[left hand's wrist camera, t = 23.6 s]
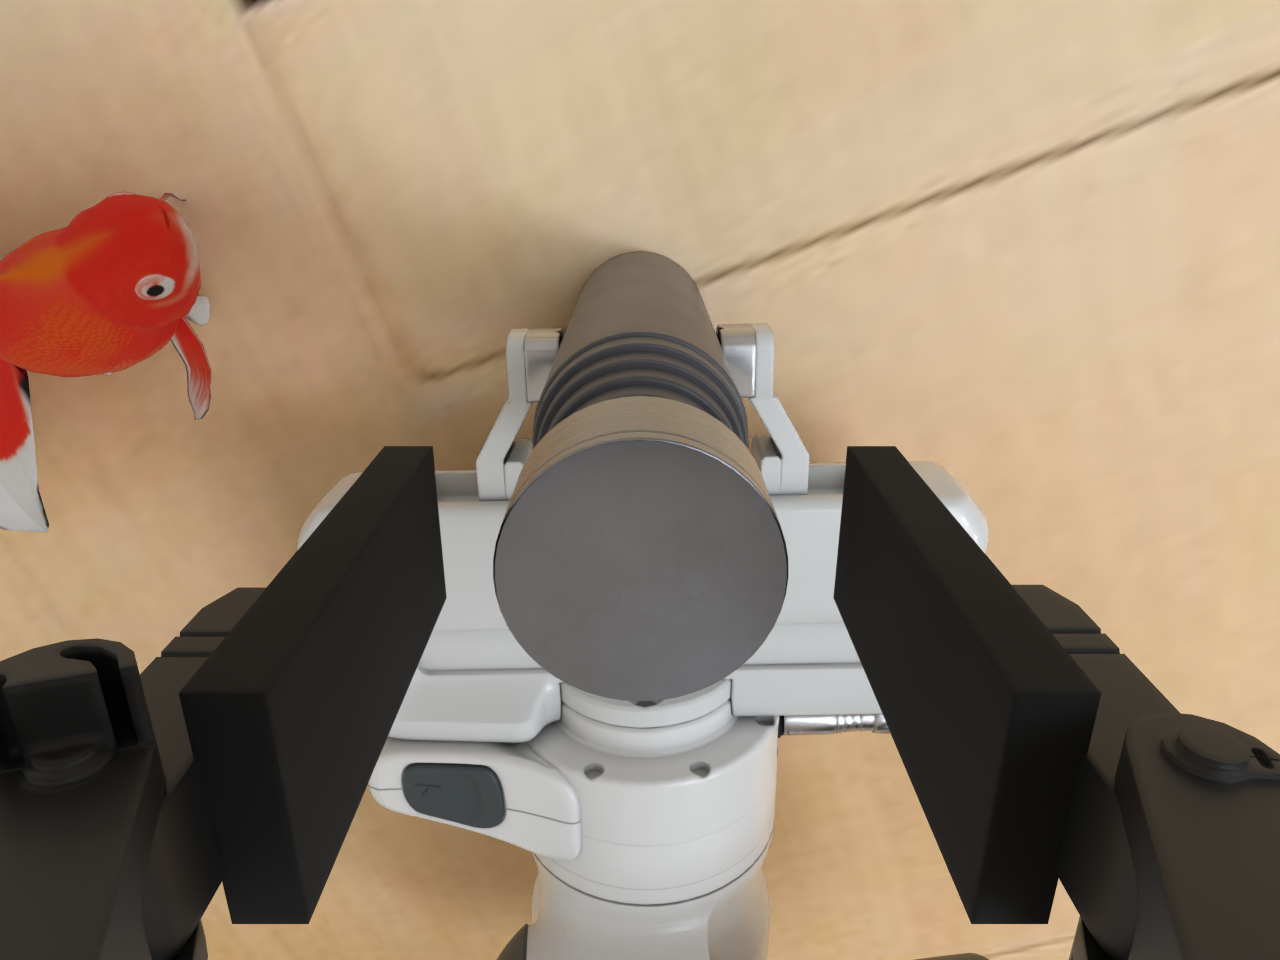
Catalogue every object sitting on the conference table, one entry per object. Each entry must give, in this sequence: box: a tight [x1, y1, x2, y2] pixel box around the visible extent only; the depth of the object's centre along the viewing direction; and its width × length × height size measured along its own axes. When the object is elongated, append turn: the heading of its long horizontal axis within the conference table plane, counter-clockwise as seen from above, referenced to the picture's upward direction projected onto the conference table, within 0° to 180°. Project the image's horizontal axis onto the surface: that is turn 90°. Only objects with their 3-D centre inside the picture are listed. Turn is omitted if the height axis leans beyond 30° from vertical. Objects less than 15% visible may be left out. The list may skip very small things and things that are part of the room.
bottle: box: [532, 252, 749, 449], centre depth 22 cm, size 4×4×19 cm
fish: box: [0, 192, 211, 532], centre depth 27 cm, size 11×16×10 cm
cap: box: [493, 396, 788, 701], centre depth 13 cm, size 4×4×2 cm
